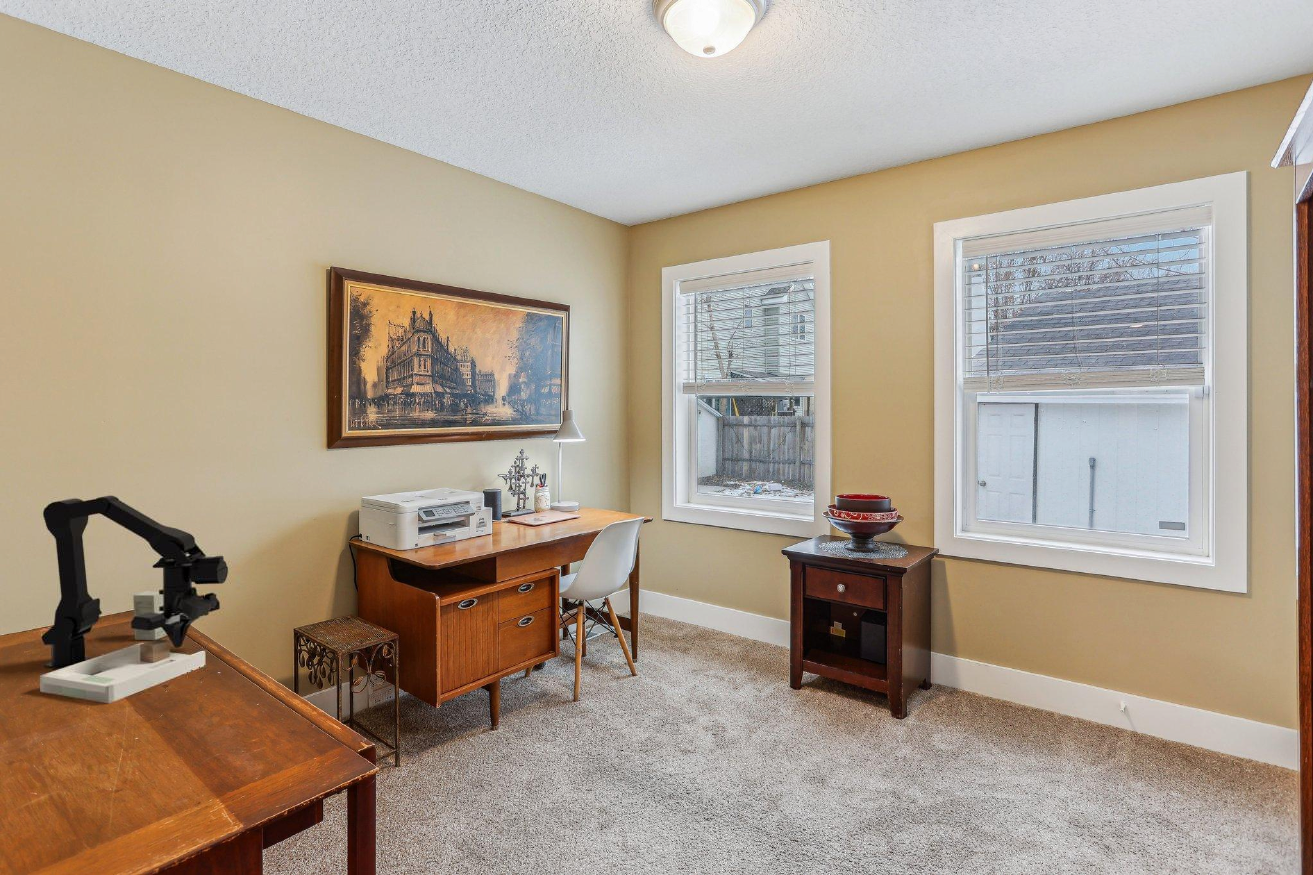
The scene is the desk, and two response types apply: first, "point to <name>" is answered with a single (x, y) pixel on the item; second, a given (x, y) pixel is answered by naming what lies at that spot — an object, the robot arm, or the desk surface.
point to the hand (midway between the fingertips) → (177, 647)
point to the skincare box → (145, 604)
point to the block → (154, 651)
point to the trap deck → (117, 675)
